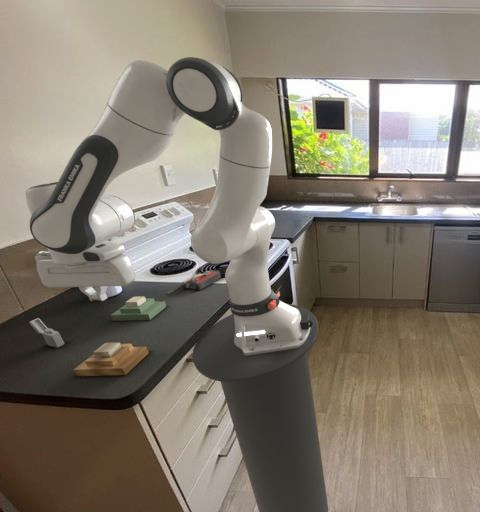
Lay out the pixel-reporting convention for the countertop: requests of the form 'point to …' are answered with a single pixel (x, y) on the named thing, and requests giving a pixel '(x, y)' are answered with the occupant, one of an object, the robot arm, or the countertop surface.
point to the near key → (107, 350)
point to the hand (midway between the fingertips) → (99, 299)
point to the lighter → (47, 333)
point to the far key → (136, 301)
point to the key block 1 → (139, 311)
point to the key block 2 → (112, 362)
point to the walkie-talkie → (199, 281)
